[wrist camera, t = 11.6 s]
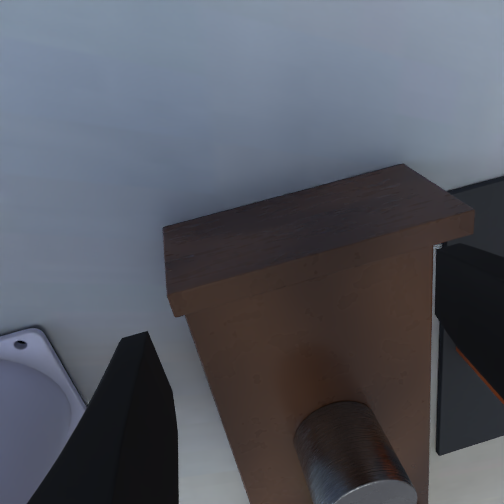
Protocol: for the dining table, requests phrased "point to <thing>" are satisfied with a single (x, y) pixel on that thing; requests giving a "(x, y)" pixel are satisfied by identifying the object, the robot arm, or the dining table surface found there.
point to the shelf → (316, 315)
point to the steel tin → (350, 458)
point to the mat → (450, 361)
